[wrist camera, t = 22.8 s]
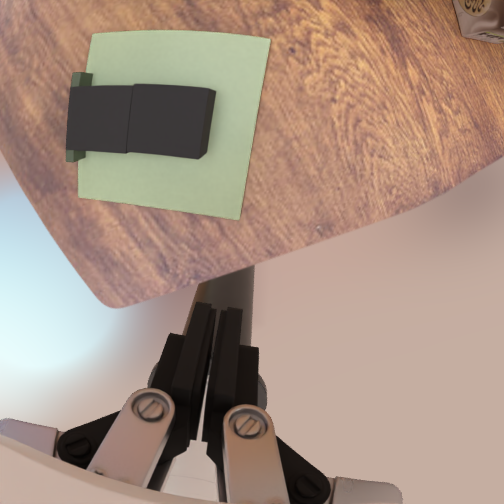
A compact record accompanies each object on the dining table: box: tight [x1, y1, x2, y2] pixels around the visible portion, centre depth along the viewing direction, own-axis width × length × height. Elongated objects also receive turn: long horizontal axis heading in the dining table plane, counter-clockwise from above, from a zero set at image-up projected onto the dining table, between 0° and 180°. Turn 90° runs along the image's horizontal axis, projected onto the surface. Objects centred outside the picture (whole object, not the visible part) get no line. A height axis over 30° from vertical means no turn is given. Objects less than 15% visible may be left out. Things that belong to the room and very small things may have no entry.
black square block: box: [66, 85, 134, 154], centre depth 25 cm, size 6×6×4 cm
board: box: [66, 30, 271, 220], centre depth 26 cm, size 18×18×3 cm
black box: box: [127, 84, 216, 160], centre depth 25 cm, size 6×6×4 cm
